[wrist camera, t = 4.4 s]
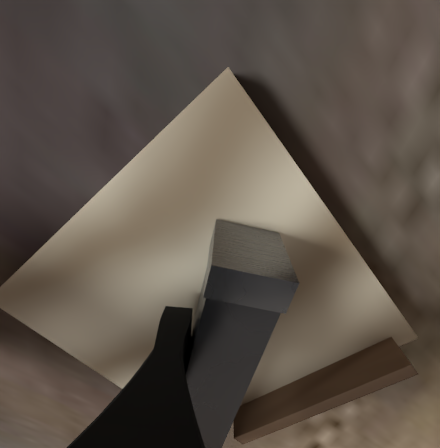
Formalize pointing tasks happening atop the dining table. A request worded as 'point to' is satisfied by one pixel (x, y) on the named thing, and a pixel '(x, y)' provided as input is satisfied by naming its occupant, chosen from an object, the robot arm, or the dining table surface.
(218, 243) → the folding leg
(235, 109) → the stool seat
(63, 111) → the dining table surface
